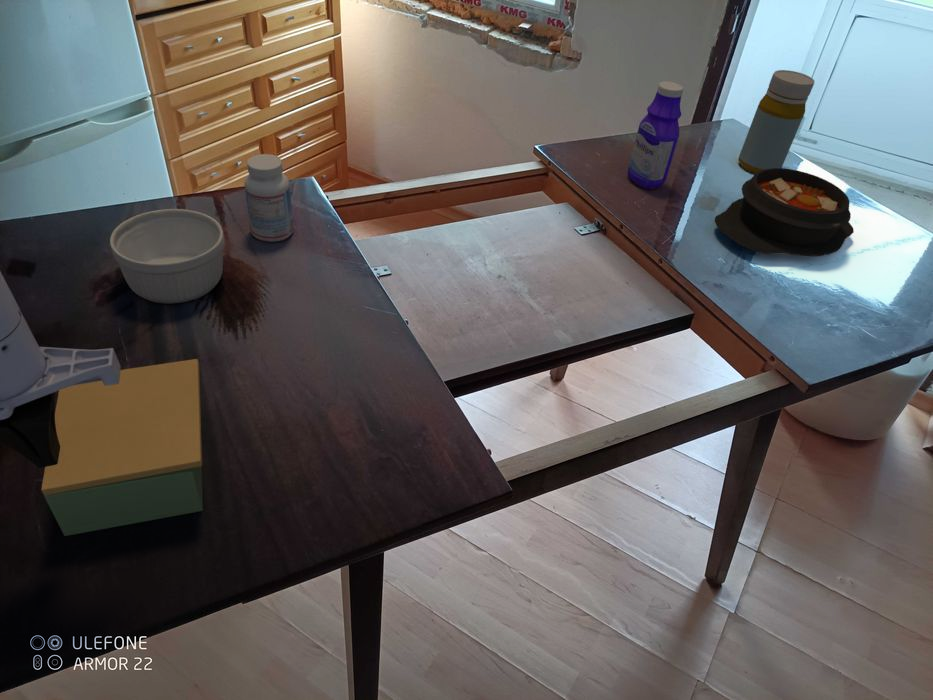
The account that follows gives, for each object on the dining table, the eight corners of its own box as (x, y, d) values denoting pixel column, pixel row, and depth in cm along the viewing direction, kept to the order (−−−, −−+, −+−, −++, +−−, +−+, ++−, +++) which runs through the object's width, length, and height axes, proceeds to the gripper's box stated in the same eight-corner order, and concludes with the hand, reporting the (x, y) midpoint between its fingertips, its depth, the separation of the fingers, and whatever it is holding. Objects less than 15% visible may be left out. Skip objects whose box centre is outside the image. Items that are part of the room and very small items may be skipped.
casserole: (767, 279, 103) (789, 231, 98) (686, 218, 115) (702, 172, 110) (875, 250, 113) (901, 205, 107) (790, 197, 125) (810, 154, 120)
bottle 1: (619, 175, 125) (644, 79, 114) (643, 170, 128) (670, 76, 116) (645, 193, 121) (673, 95, 109) (669, 188, 123) (699, 92, 112)
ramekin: (242, 257, 95) (235, 213, 91) (213, 315, 85) (204, 269, 81) (145, 248, 95) (133, 203, 90) (104, 306, 85) (89, 259, 80)
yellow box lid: (199, 364, 70) (197, 358, 69) (202, 466, 60) (200, 460, 60) (63, 384, 66) (60, 378, 66) (44, 496, 57) (40, 490, 56)
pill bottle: (266, 217, 103) (258, 147, 96) (301, 228, 102) (296, 158, 95) (242, 236, 99) (231, 164, 92) (278, 247, 98) (271, 175, 90)
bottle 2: (728, 163, 134) (762, 73, 122) (751, 154, 138) (785, 66, 127) (764, 180, 129) (802, 88, 118) (787, 171, 134) (826, 81, 122)
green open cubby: (199, 408, 73) (190, 368, 70) (202, 510, 64) (192, 471, 60) (80, 425, 70) (63, 384, 66) (64, 536, 61) (43, 496, 57)
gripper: (-179, 388, 41) (-68, 519, 50) (87, 347, 44) (145, 476, 53) (-141, 315, 46) (-46, 446, 55) (96, 283, 49) (148, 411, 58)
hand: (49, 456), depth 54 cm, fingers closed
